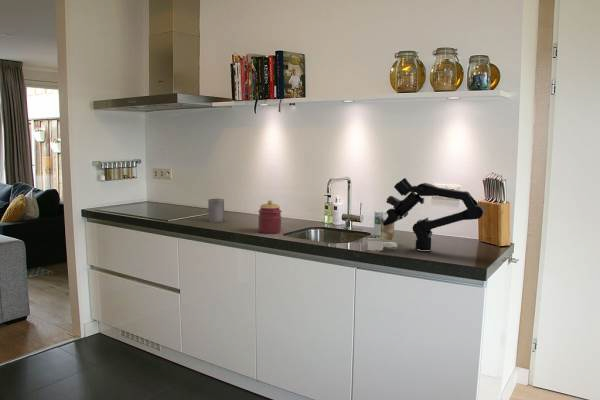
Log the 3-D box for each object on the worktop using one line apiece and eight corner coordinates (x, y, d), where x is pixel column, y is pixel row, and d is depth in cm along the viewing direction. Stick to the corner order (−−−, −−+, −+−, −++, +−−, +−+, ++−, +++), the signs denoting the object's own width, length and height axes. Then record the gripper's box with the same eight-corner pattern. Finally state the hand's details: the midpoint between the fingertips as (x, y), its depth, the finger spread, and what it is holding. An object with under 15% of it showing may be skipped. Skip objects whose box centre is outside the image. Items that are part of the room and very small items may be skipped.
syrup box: (373, 237, 245) (374, 210, 243) (379, 236, 249) (380, 209, 247) (382, 239, 241) (382, 211, 239) (388, 237, 245) (389, 210, 243)
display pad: (396, 244, 229) (396, 242, 229) (397, 248, 220) (397, 246, 220) (377, 243, 230) (377, 241, 230) (378, 247, 221) (378, 245, 221)
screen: (382, 250, 215) (383, 238, 214) (383, 251, 213) (383, 239, 212) (367, 250, 216) (367, 237, 215) (367, 251, 214) (367, 238, 213)
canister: (284, 230, 262) (284, 199, 260) (277, 234, 250) (277, 202, 248) (262, 229, 266) (262, 198, 263) (254, 233, 253) (254, 201, 251)
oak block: (393, 238, 226) (394, 220, 225) (391, 240, 221) (392, 221, 220) (383, 237, 228) (384, 219, 227) (381, 239, 223) (381, 220, 222)
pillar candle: (213, 219, 296) (213, 196, 294) (227, 220, 293) (226, 197, 291) (205, 222, 287) (205, 198, 285) (219, 223, 284) (218, 198, 282)
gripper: (402, 188, 228) (380, 209, 235) (391, 192, 212) (367, 214, 218) (418, 205, 225) (395, 226, 232) (407, 210, 209) (383, 232, 215)
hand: (385, 224), depth 224 cm, fingers closed on oak block, 5 cm apart
